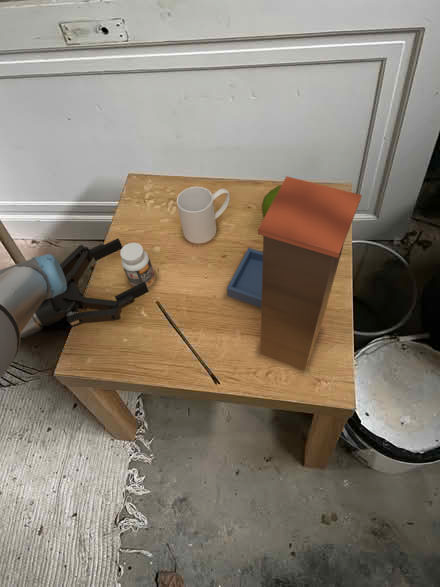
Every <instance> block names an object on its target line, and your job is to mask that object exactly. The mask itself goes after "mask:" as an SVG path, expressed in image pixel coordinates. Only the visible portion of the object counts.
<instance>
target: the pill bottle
mask: <svg viewBox="0 0 440 587" xmlns="http://www.w3.org/2000/svg"><path fill="white" fill-rule="evenodd" d="M122 247H123V248H122V249H121V250H120V254H119V255H120V258H121V266H122V268H123V271H124V273H125V275H126V278H127V280H128V283H129V284H130V285H131V288H132V287H134V286H137V285H139V284H141V283H143V282H145V283H146V285H147V288H148V289H149V287H151V286H152V285H153V284H154V282H155V279H156V274H155V272H154V269H153V265H152V262H151V260H150V257H149V254H148V253H147V252H146V251H145V250H144V247H143V246H142V245H141V244H140V243H138V242H129V243H126V244H125V245H123V246H122Z"/></svg>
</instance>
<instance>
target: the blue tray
mask: <svg viewBox="0 0 440 587" xmlns="http://www.w3.org/2000/svg"><path fill="white" fill-rule="evenodd" d="M262 270H263V251H260V250H257V249H253V248H250V247H248V248H247V249H246V251H245V253H244V255H243V257H242V259H241V260H240V262H239V264H238V266H237V268H236V270H235V273H234V274H233V276H232V278H231V279H230V281H229V283H228V285H227V287H226V292H227V294H226V295H227V297H229V298H232V299H234V300H238V301H241V302H244V303H246V304H249V305H252V306H255V307H257V308H261V306H262Z"/></svg>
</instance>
